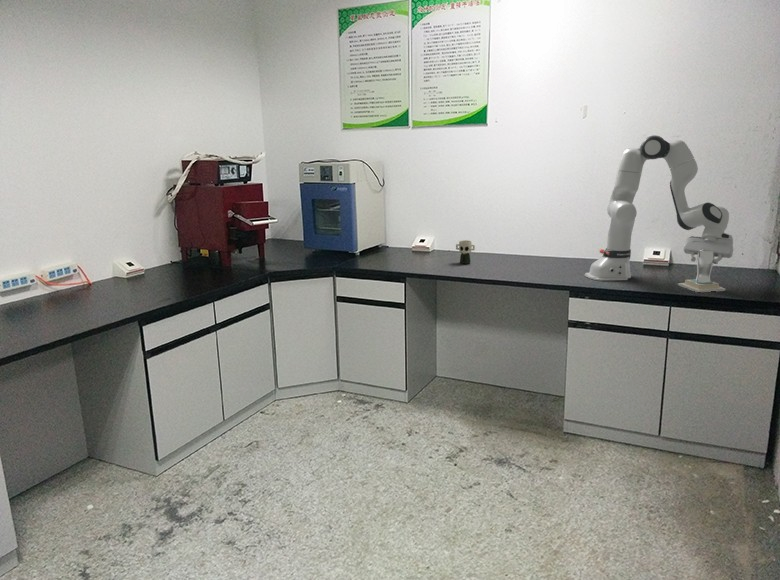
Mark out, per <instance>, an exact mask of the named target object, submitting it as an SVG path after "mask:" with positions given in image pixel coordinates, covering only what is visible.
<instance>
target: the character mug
mask: <svg viewBox="0 0 780 580" xmlns="http://www.w3.org/2000/svg"><path fill="white" fill-rule="evenodd" d="M458 241H459V240H458ZM475 245H476V244H472V240H467V239H466V240H460V241H459V242H458V243H456V244H455V248H456V249H455V250H458V251H459V253H461V254H460V258H459V264H465V265H468V264H470V263H471V254H470V253H471V252H472V251H475V249H476V248H475Z"/></svg>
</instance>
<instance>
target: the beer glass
mask: <svg viewBox="0 0 780 580" xmlns="http://www.w3.org/2000/svg"><path fill="white" fill-rule="evenodd" d="M703 250H705V249H699V251H698V255H697V256H696V270H697V271H696V273H697V274H696V278H695V279H696V280H695V281H696V282H699V283H710V281H711V273H712V269H713V266H714V259H715V257H714V256H715V250H712V249H710V250H712V251H703Z"/></svg>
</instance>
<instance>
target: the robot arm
mask: <svg viewBox="0 0 780 580" xmlns="http://www.w3.org/2000/svg"><path fill="white" fill-rule="evenodd" d="M657 159H664V160H665V162H666V163H667V166H668V168H669V171H670V173H671V175H670V176H671V180H670V182H669V189H670V193H671V196H672V200H673V204H674V208H675V209H674V210H675V212H676V221H677V224H678V226H679V227H680V228H682V229H684V230H685V231H690V230H693V229H696V228H698V227H702V226H703V227H704V229H703V231H702V235H701V236H694V235H693V236H689V237H687V238H686V241H685V244H684V246H683V252H684V253H685V254H687V255H690V257H691V259H690V261H691V262H694V263H695V262H696V261H697V257H696V255H697V256H698V251H699V249H705V250H703V251H712V250H715V256H714V263H713V265H718V264H719V262H720V261H721V260H723V258H724V259H725V258H726V259H731V258H732V257H733V255H734V245H733V244H734V239H733V236H732V235H731V234H728V233H725V231H726V230H727V227H728V225H729V220H730V215H729V210H727V208H725V207H722V206H717V205H715V204H713V203H711V202H704V203H701V204H698V205H695V206H693V207H690V206H689V205H688V201H687V197H686V194H685V191H686V187H687V185H688V184H689V183H690V182H691V181H693V180H694V178H695V177H696V176H697V173H698V169H699V167H698V164H697V161H696V160H695V159H696V158H695V155H693V153H692V151H691V149H690V148H689V146H688V144H687V143H686V142H685V141H683V140H674V141H670V142H669V141H666V140H665V139H664V138H663V137H662V136H661V135H660V136H659V135H653V134H652V135H650V136H647V137H646V138H645V139H644V140H642V142H641V145H640V146H638V147H632V148H631V147H630V148H627V149H625V150H624V151H623V153H622V155H621V158H620V161H619V163H618V168H617V172H616V177H615V182H614V185H613V190H612V192H611V195H610V199H609V202H608V205H607V209H606V210H607V215H608V216H609V218H610V225H609V230H608V232H607V240H606V248H605V250H604V249H602V248H600V249H599V254H602V256H601V257H600V258H598V259H597V260H595V261H593V262H592V263H591V265H590V267H589V272H585V273H584V276H585V277H586V278H588V279H590V280H593V281H628V280H629V279H631V278H632V273H631V267H630V260H631V254H632V252H631V251H632V249H631V243H632V233H633V229H634V225H635V222H636V217H637V213H638V212H637V208H636V206H635V204H634V203H633V202H634V199H635V197H636V194H637V192H638V190H639V188H640V184H641V177H642V174H643V168H644V164H645V163H646V161H648V160H649V161H650V160H657ZM710 249H712V250H710ZM715 257H716V258H715Z"/></svg>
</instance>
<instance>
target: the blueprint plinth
mask: <svg viewBox="0 0 780 580" xmlns="http://www.w3.org/2000/svg"><path fill="white" fill-rule="evenodd" d="M695 280H696V278H693V279H685V280H684V282H679V283H677V286H679V287H682V288H685V289H686V288H687V289H686V290H689V291H692V292H694V291H695V293H697V292H701V293H712V292H711V291H716V292H725V291H726V288H724V287H722V286H720V283H718V282H715V281H712V280H710V283H699V282H696V281H695Z"/></svg>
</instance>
